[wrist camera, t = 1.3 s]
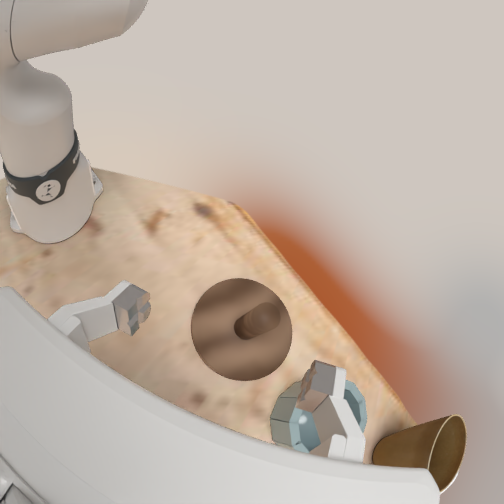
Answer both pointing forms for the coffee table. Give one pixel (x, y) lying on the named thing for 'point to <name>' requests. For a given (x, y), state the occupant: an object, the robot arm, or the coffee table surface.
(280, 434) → the ceramic bowl
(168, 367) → the coffee table surface
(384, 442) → the plant pot
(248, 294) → the walnut lid
